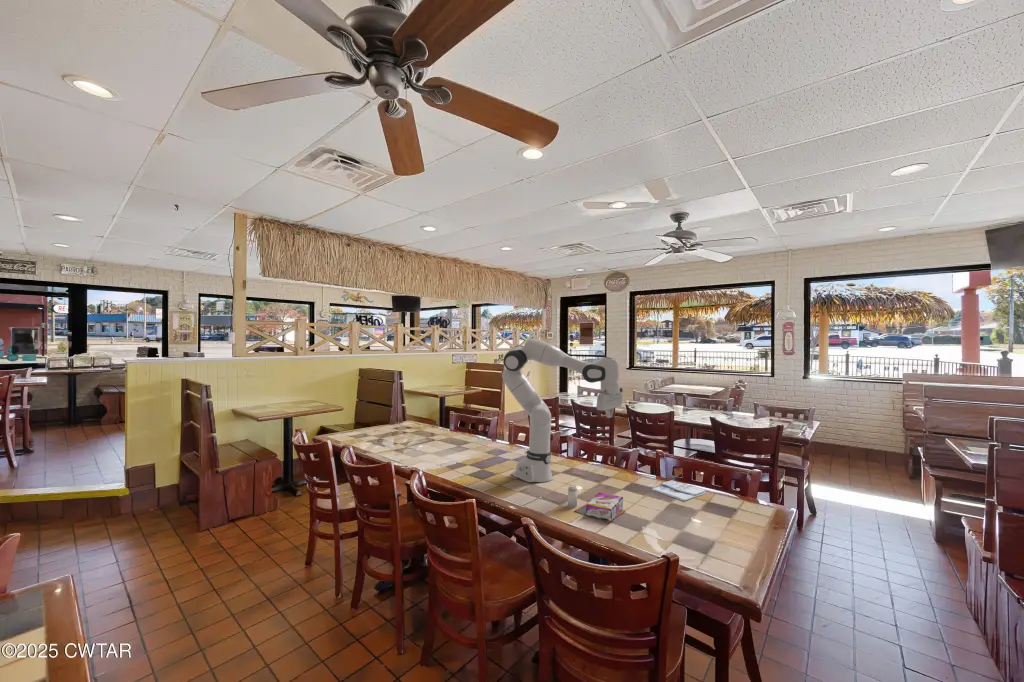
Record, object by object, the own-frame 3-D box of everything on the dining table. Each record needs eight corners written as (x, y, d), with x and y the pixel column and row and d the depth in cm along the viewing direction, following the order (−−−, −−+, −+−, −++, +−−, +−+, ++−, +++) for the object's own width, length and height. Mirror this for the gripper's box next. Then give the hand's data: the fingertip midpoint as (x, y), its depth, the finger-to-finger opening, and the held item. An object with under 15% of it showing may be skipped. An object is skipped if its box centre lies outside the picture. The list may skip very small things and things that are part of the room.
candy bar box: (623, 496, 176) (612, 509, 162) (623, 507, 176) (612, 521, 162) (598, 491, 182) (585, 503, 168) (598, 502, 182) (585, 515, 168)
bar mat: (574, 511, 173) (574, 510, 173) (592, 501, 184) (592, 500, 184) (608, 523, 162) (608, 521, 162) (625, 511, 173) (625, 510, 173)
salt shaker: (565, 505, 178) (566, 488, 178) (570, 503, 181) (571, 485, 181) (573, 508, 176) (573, 490, 176) (578, 505, 179) (578, 488, 179)
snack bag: (707, 494, 196) (707, 489, 196) (683, 503, 185) (683, 498, 185) (672, 482, 212) (672, 478, 212) (648, 490, 201) (648, 486, 201)
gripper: (605, 391, 191) (604, 421, 191) (624, 388, 207) (624, 415, 207) (593, 390, 196) (593, 419, 196) (613, 387, 211) (613, 414, 211)
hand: (609, 417), depth 201 cm, fingers closed
